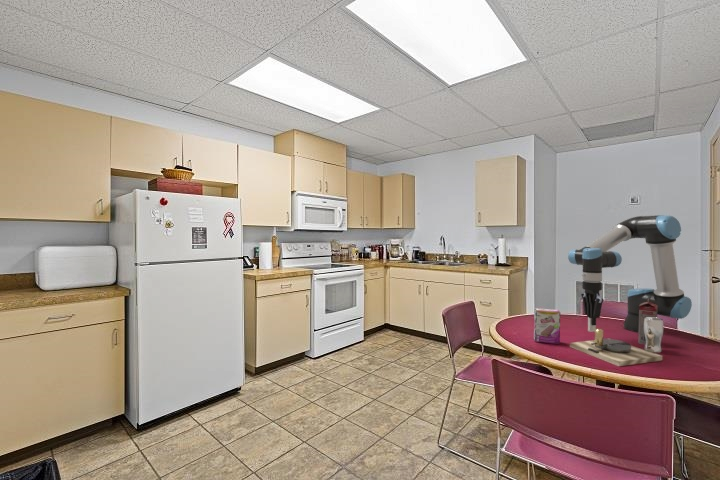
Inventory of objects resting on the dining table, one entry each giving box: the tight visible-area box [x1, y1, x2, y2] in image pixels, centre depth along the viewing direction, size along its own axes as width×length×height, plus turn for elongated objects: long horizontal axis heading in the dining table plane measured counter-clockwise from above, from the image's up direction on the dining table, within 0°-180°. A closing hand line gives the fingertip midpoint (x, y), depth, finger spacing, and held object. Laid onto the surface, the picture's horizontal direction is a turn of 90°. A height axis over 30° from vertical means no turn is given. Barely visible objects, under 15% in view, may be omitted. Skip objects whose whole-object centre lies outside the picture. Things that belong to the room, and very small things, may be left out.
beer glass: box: [644, 317, 664, 354], centre depth 157 cm, size 7×7×15 cm
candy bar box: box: [533, 307, 561, 345], centre depth 170 cm, size 11×5×16 cm, turn 71°
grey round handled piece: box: [591, 328, 632, 353], centre depth 154 cm, size 18×12×9 cm, turn 102°
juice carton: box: [638, 298, 658, 346], centre depth 167 cm, size 7×7×22 cm
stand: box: [569, 339, 663, 367], centre depth 154 cm, size 24×24×3 cm
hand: (591, 331), depth 158 cm, fingers closed
